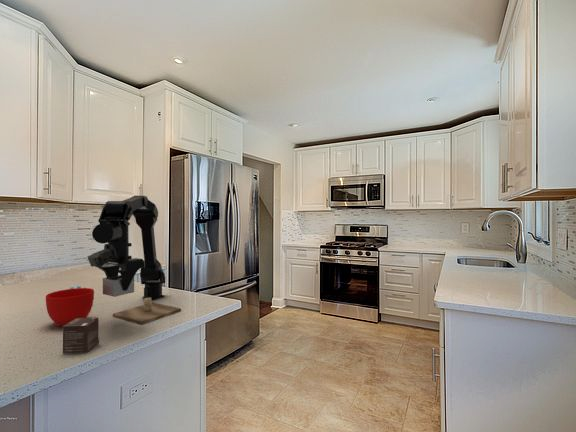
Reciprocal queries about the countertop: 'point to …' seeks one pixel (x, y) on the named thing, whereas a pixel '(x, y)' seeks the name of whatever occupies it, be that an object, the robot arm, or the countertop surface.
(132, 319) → the post base
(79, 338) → the box
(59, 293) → the ceramic cup
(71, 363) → the countertop surface
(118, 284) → the square tube
